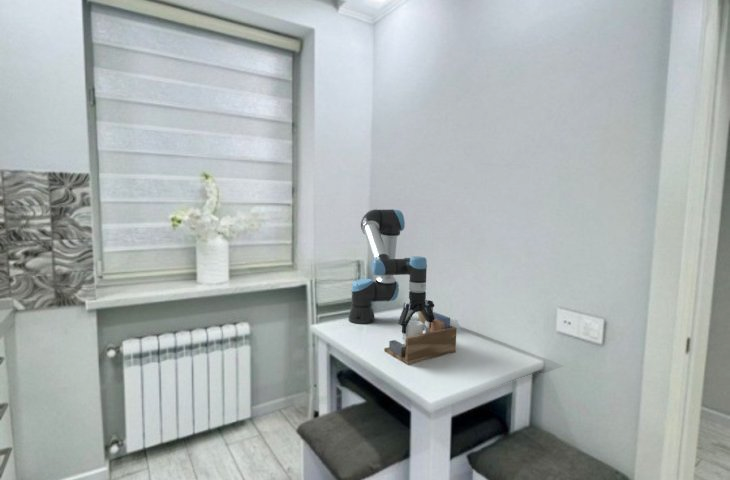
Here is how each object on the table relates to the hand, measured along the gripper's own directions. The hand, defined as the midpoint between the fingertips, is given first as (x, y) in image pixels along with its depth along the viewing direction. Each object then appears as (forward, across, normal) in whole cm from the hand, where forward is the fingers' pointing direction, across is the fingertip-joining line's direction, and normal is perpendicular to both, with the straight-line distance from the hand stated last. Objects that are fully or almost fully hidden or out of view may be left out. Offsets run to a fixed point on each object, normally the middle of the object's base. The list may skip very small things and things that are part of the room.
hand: (416, 337), depth 177 cm
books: (+5, +12, 0) cm, 13 cm away
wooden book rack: (+7, +2, 0) cm, 7 cm away
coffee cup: (+6, +26, +24) cm, 36 cm away
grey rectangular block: (+5, -10, +1) cm, 11 cm away
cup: (+3, 0, 0) cm, 3 cm away
